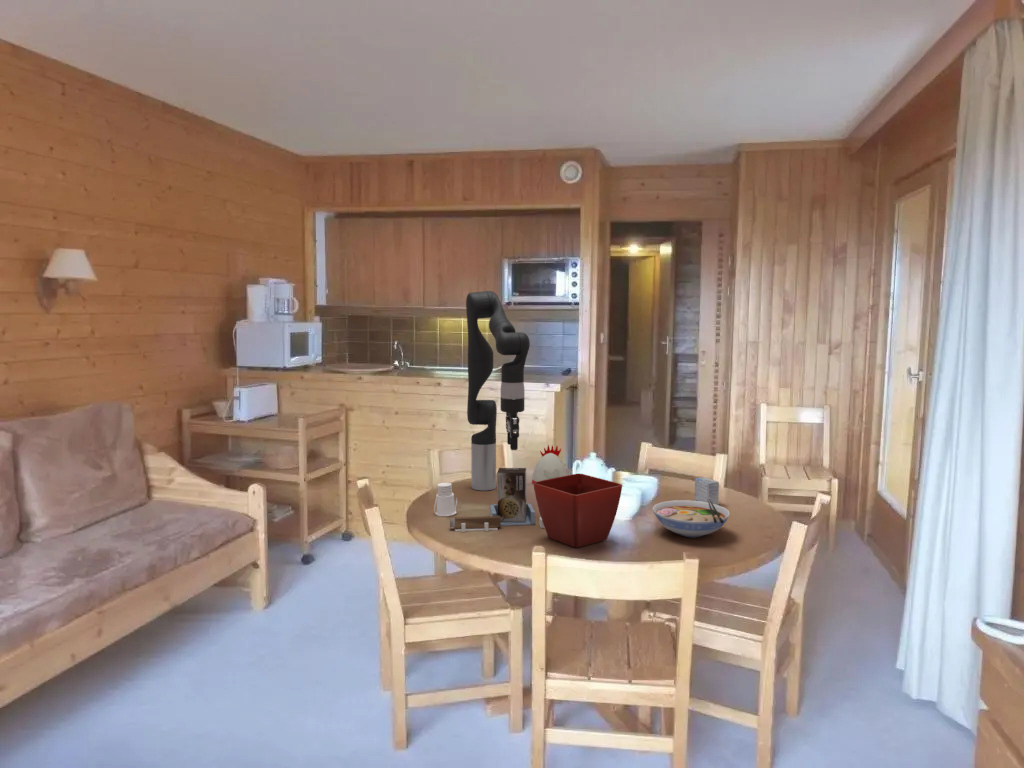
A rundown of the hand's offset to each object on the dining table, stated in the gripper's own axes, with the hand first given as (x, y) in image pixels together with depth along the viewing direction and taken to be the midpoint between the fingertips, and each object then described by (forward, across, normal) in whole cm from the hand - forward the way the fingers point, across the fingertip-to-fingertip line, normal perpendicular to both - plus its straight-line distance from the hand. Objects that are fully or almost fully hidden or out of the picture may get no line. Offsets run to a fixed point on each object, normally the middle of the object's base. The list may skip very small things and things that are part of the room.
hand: (512, 447), depth 232 cm
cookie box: (+24, 0, 0) cm, 24 cm away
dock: (+24, 0, 0) cm, 24 cm away
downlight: (+24, -10, -21) cm, 33 cm away
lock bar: (+24, +7, -12) cm, 27 cm away
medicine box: (+24, -12, +69) cm, 74 cm away
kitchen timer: (+24, -47, +20) cm, 56 cm away
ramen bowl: (+24, +19, +52) cm, 60 cm away
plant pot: (+24, +20, +17) cm, 36 cm away
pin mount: (+24, +7, -5) cm, 25 cm away
